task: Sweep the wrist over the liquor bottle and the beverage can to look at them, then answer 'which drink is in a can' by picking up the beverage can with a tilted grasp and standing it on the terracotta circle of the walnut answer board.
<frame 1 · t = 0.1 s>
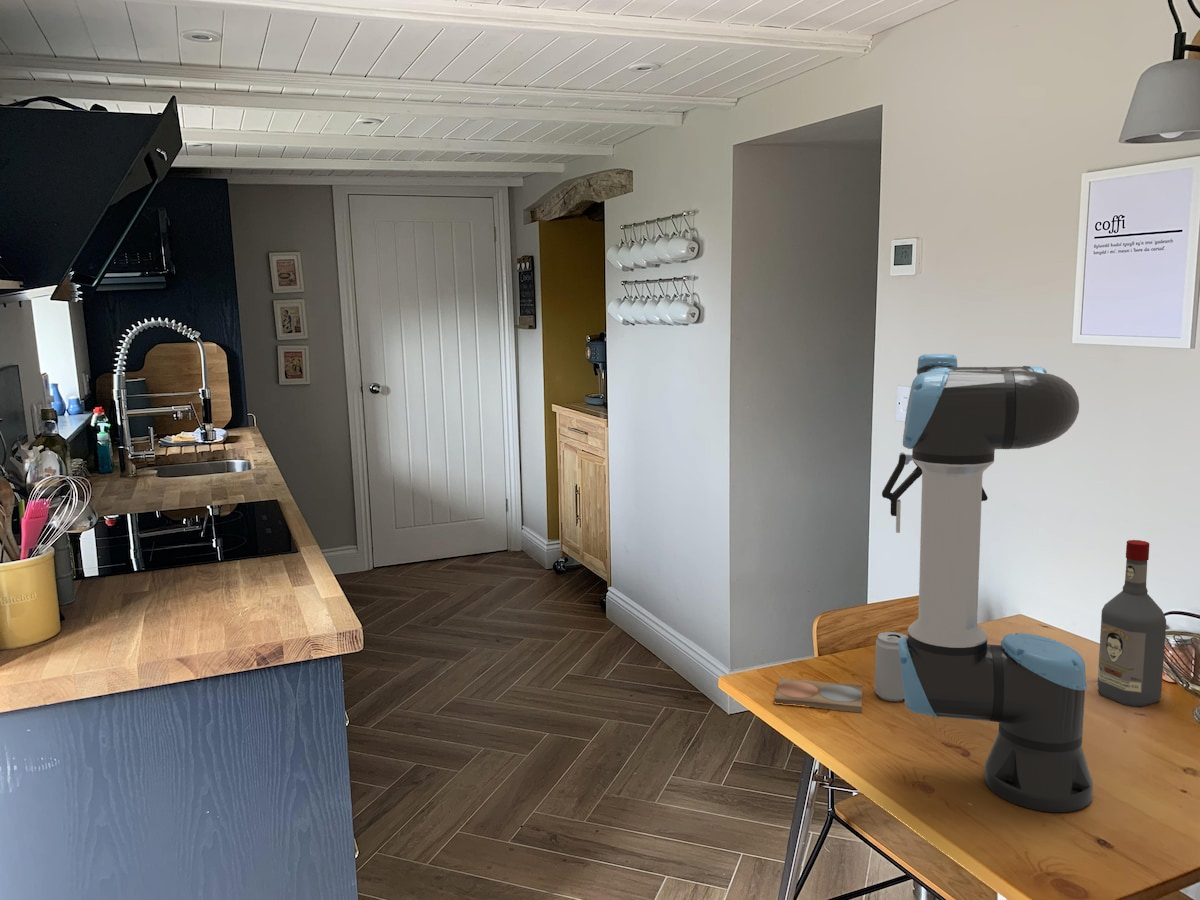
hand: (932, 532, 188), 28 cm above the table, tool pointing down, fingers open, 13 cm apart
beverage can: (891, 696, 176), on the table
liquor: (1128, 696, 173), on the table
answer board: (819, 697, 176), on the table
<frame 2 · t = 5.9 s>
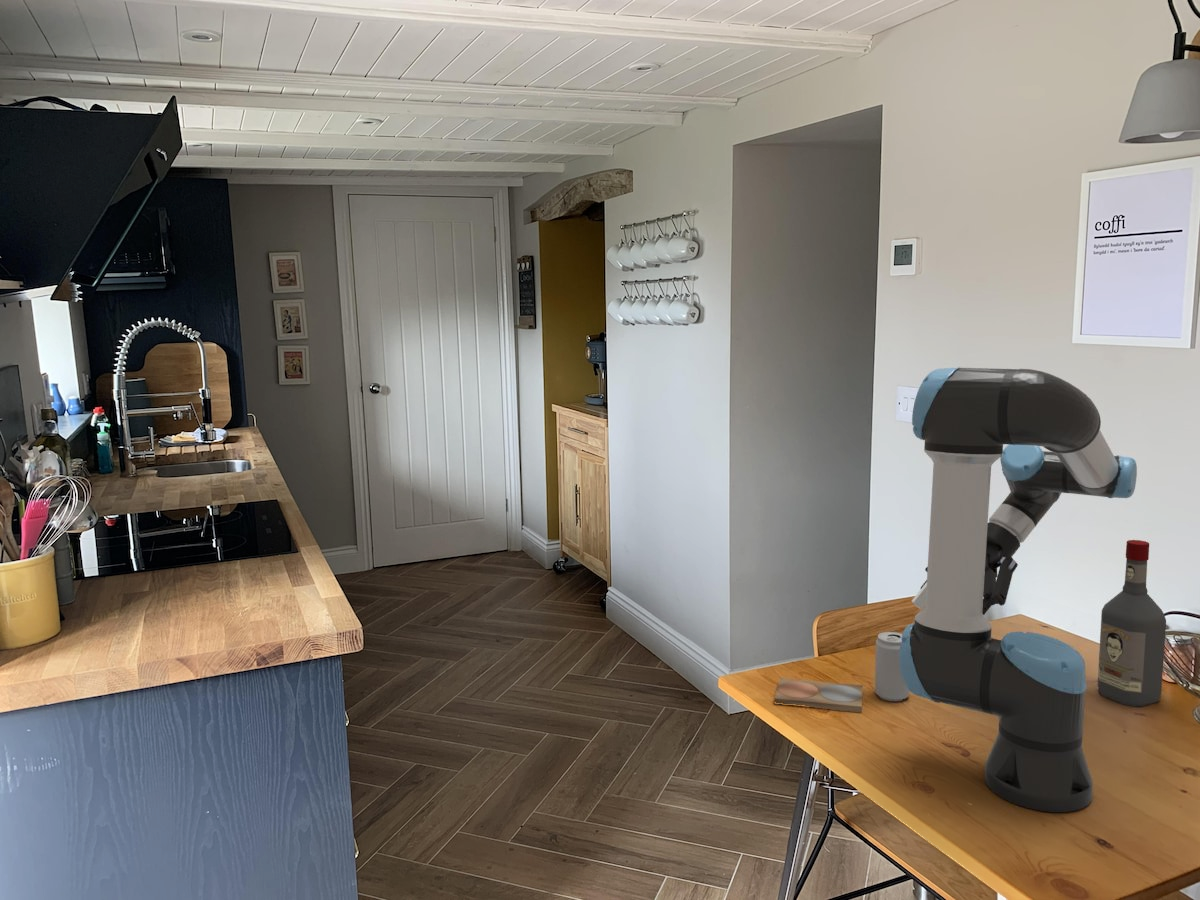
hand: (938, 616, 177), 15 cm above the table, tool tilted 45°, fingers open, 13 cm apart
nothing on the table moved.
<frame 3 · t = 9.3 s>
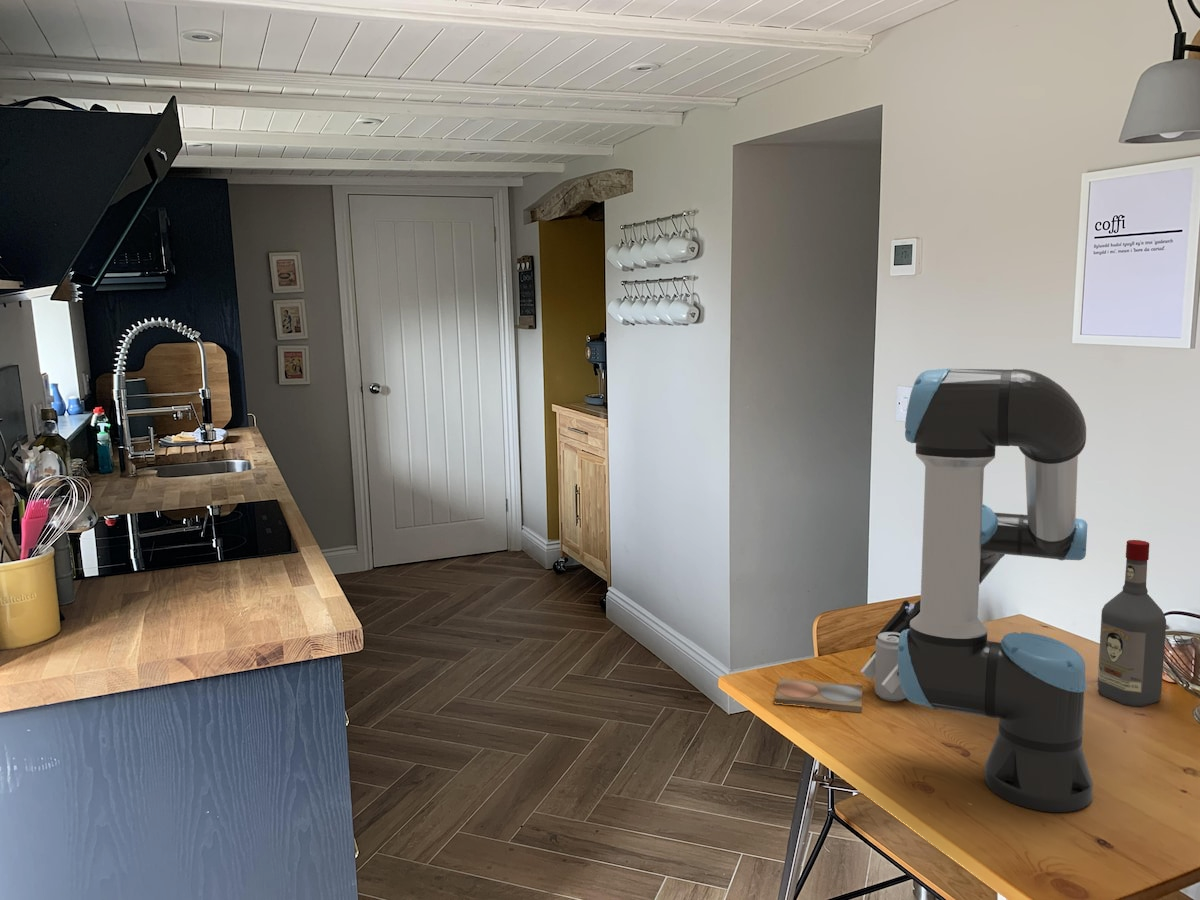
hand: (876, 682, 175), 3 cm above the table, tool tilted 45°, fingers closed on beverage can, 6 cm apart
beverage can: (891, 696, 176), on the table, touching gripper
everything else where it was.
when the fingers open (6 cm above the table, at t = 14.3 s): beverage can drops 1 cm, resting on answer board.
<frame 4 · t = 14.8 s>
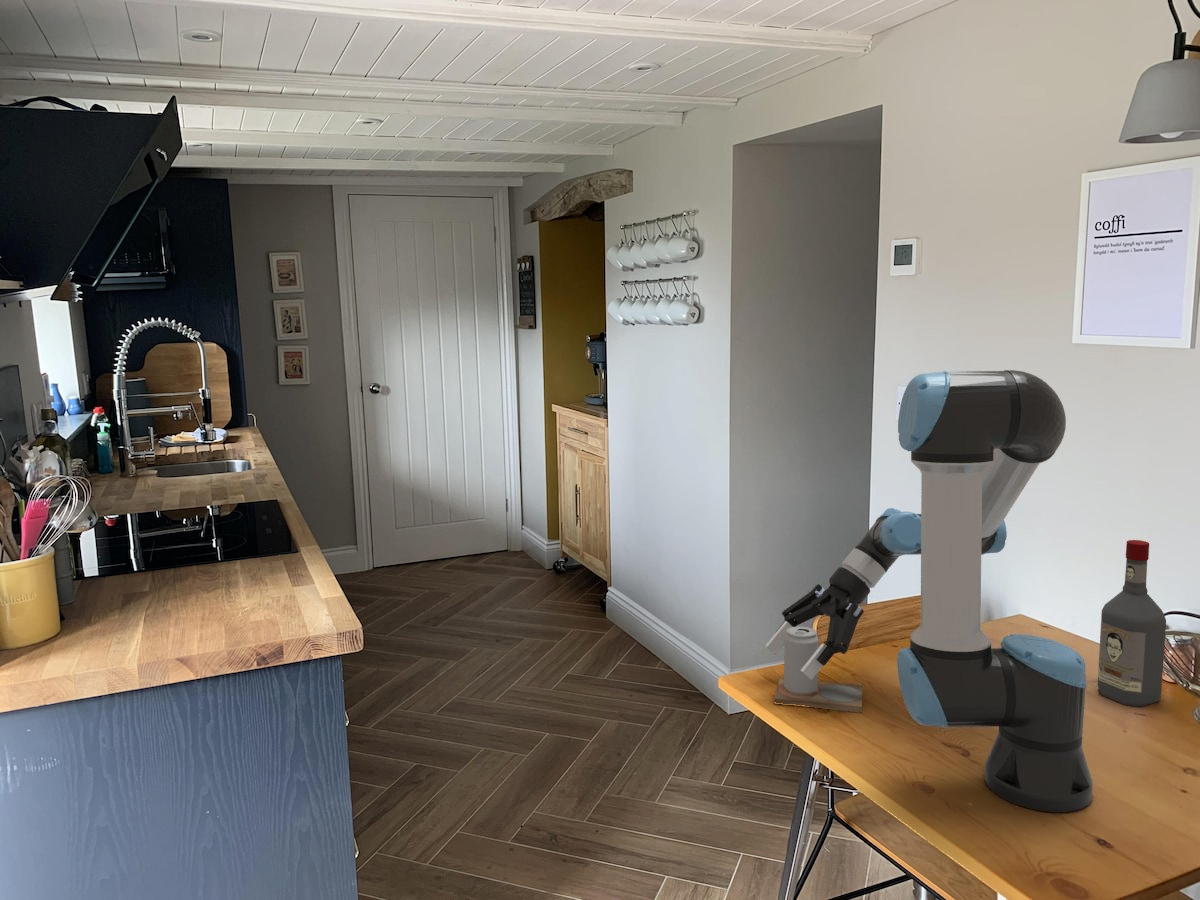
hand: (787, 662, 176), 7 cm above the table, tool tilted 45°, fingers open, 13 cm apart
beverage can: (800, 691, 177), point 1 cm above the table, touching answer board
everything else where it was.
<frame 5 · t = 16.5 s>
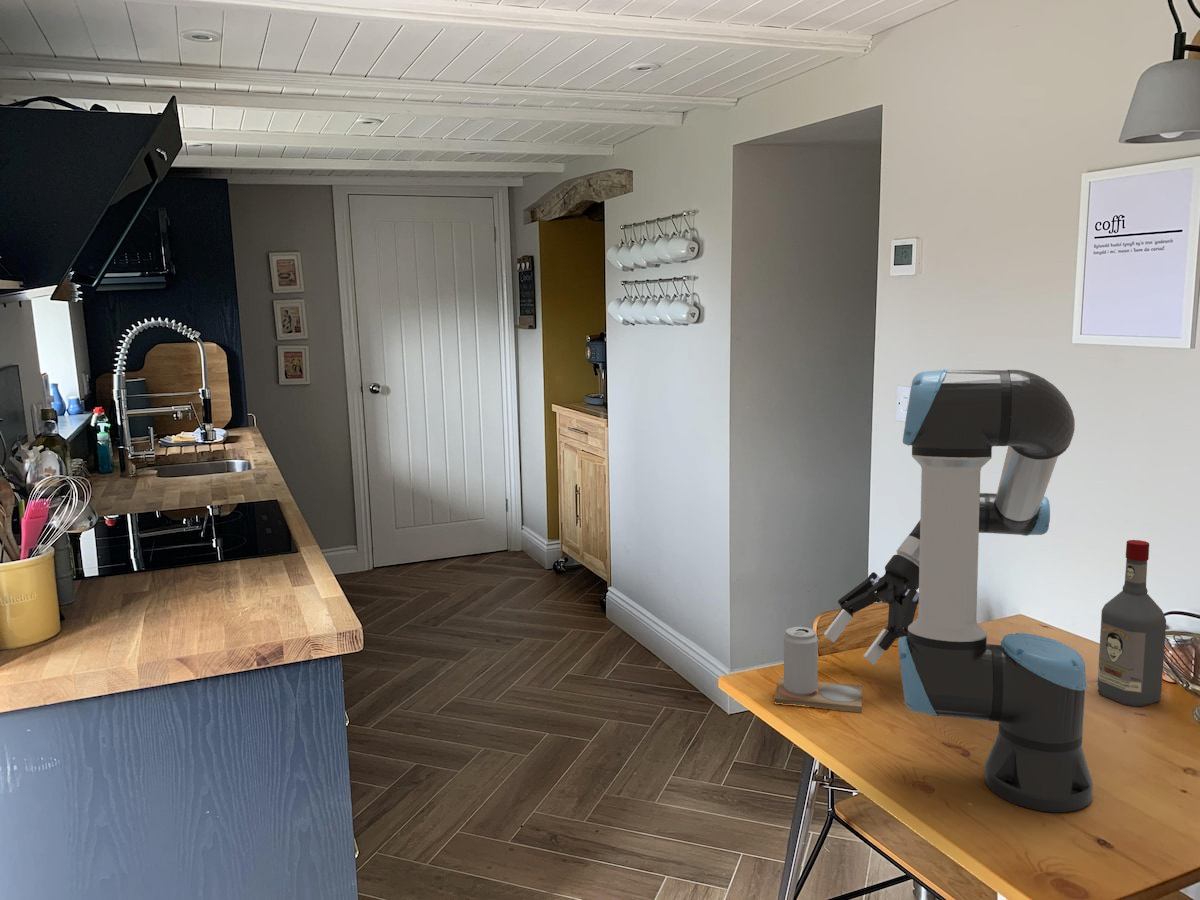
hand: (847, 649, 179), 8 cm above the table, tool tilted 45°, fingers open, 13 cm apart
nothing on the table moved.
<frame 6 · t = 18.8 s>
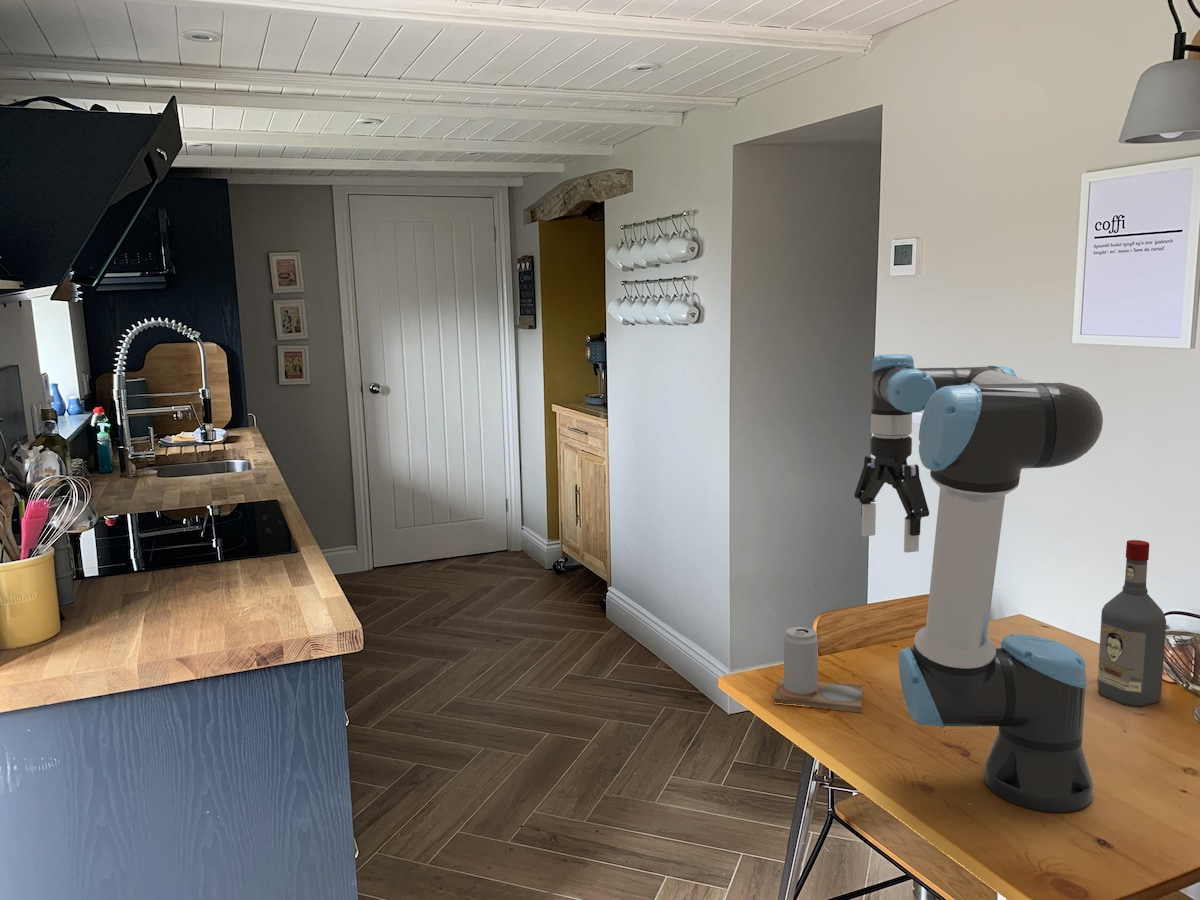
hand: (889, 543, 178), 29 cm above the table, tool pointing down, fingers open, 13 cm apart
nothing on the table moved.
at the end: beverage can 0.7 cm from the target spot on the answer board, point 1.1 cm above the answer board's base; beverage can tilted 0°; the gripper is holding nothing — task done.
